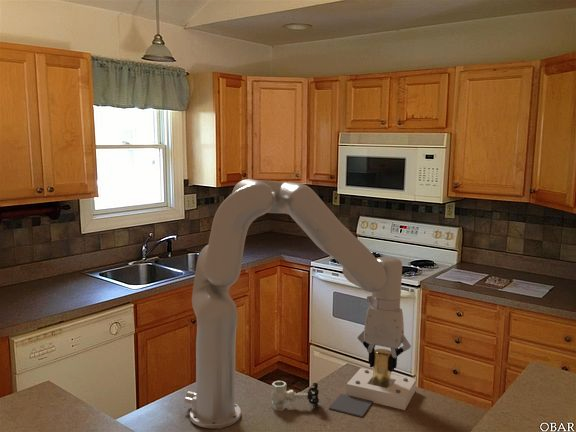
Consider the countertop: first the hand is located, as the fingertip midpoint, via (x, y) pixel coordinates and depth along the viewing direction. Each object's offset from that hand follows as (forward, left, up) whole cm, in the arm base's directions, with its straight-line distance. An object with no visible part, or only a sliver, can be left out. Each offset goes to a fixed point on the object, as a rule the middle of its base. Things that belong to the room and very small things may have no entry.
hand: (382, 367), depth 141 cm
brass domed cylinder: (0, 0, -5) cm, 5 cm away
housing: (0, 0, -8) cm, 8 cm away
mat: (-5, -10, -8) cm, 14 cm away
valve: (-18, -18, -8) cm, 27 cm away
